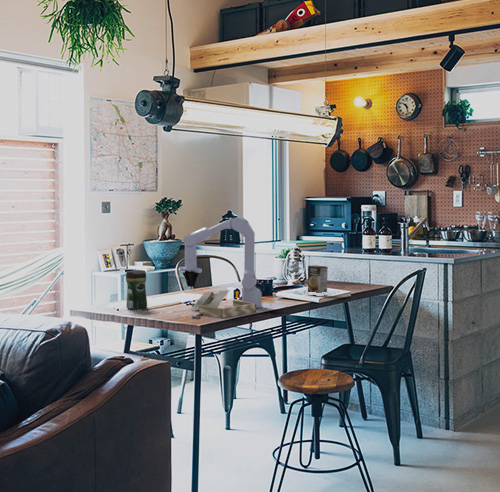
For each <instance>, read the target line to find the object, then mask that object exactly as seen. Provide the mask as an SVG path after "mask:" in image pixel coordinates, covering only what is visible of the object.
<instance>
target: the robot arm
mask: <svg viewBox="0 0 500 492" xmlns="http://www.w3.org/2000/svg"><path fill="white" fill-rule="evenodd" d="M225 229H228V230H231V229H232V230H233V231H235V232H238V233H239V234H241V235H242V236H243V237H244V265H243V266H244V268H243V269H244V271H243V278H242V280H241V286H242V288H241V301H243V302H249V303H256V309H257V308H263V306H264V305H262V304H263V299H262V298H263V296H262V295H263V293H262V292H261V291H262V290H261V289H259V288H257V286H256V285H257V281H258V280H257V277H256V271H255V244H256V243H255V242H256V241H255V235H256V232H255V231H254V230H253V229H254V228H252V225H251V224H250V223H249V221H248V220H247V219H245V218H244V217H241V216H238V217H234V218H231V219H227V220H225V221H222V222H220V223H217V224H215V225H214V226H211V227H209V228H208V227H204V226H202V227H200V229H198V230H195V231H192V232H191V233H190V234H189V233H188V234H186V235H185V236H184V237H183V244H184V266H180V267H179V271H181V272H182V275H183V277H184V279H185V283H186V286H187V287H190V288H195V285H196V281H197V279H198V277H199V275H200V274H201V273H203V269H202V268H199V267H197V265H198V264H197V243H198V244H199V243H202V242H204V241H207V240H209V239H211V236H212V234H215V233H218V232H221V231H223V230H225Z"/></svg>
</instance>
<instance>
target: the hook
mask: <svg viewBox="0 0 500 492" xmlns="http://www.w3.org/2000/svg"><path fill="white" fill-rule="evenodd" d="M201 316H202V317H203V316H204V315H203V313H201V314H199V313H198V314H194V315H192V316H191V319H193V320H194V319H195V320H199V319H201Z"/></svg>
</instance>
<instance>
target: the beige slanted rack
mask: <svg viewBox="0 0 500 492" xmlns="http://www.w3.org/2000/svg"><path fill="white" fill-rule="evenodd" d="M229 292H230V289H229V290H228V289H226V290H219V292H218V293H214V291H205V292H204V293H203V294H202V295H201V296H200V297H199V299H198V300H197V301H196V302H195V303H194V304H193V306H192V307H191V308H190V309H189V312H193V311H198V312H199V305H203V306H209V307H215V308H219V306H220V304H221V302H223V300H224V299H225V297H226V296H227V294H228V293H229Z"/></svg>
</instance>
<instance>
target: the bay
mask: <svg viewBox="0 0 500 492" xmlns="http://www.w3.org/2000/svg"><path fill="white" fill-rule="evenodd" d="M201 313H203V315H202V316H209V317H213V318H219V319H222V318H230V317H234V316H235V317H236V316H240V315H241V316H242V315H247V314H253V313H257V308H256V303H249V302H243V301H242V300H235V299H234V300H233V301H232V306H230V307H228V306H227V307H222V308H221V307H217V308H215V307H209V306H203V305H199V311H198V314H201Z"/></svg>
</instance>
